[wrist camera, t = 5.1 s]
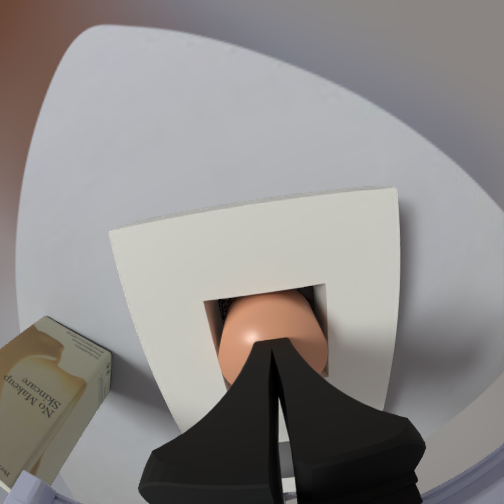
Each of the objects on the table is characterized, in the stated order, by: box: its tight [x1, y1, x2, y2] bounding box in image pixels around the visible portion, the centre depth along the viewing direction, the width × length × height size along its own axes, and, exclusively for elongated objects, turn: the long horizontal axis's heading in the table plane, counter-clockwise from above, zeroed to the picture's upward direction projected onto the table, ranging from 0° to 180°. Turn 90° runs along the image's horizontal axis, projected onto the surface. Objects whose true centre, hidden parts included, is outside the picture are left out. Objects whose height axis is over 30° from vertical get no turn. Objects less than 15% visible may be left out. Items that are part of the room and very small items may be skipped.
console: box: [108, 186, 400, 493], centre depth 14 cm, size 22×12×3 cm, turn 9°
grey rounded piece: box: [279, 441, 294, 478], centre depth 15 cm, size 4×4×3 cm
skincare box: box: [0, 316, 111, 493], centre depth 9 cm, size 6×4×12 cm
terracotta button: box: [218, 289, 328, 385], centre depth 12 cm, size 4×4×3 cm
